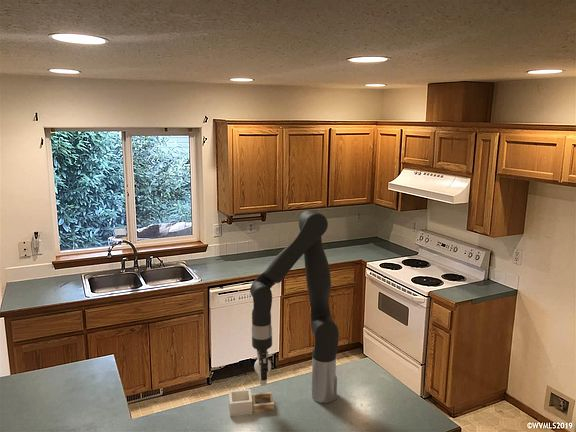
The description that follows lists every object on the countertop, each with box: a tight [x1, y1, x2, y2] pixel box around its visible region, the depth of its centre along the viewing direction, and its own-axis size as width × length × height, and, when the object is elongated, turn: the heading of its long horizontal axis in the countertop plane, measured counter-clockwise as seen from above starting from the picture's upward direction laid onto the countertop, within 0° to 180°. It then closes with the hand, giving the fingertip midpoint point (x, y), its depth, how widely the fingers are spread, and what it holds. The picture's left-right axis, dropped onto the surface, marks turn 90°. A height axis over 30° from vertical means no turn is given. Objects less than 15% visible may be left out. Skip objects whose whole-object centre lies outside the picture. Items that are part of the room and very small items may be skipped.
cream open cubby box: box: [228, 388, 254, 417], centre depth 174 cm, size 8×8×5 cm
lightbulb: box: [253, 358, 272, 386], centre depth 173 cm, size 6×6×11 cm
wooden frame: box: [251, 391, 276, 414], centre depth 176 cm, size 8×8×3 cm
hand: (263, 374), depth 173 cm, fingers closed on lightbulb, 6 cm apart
